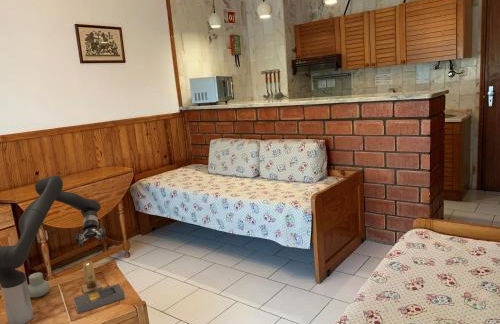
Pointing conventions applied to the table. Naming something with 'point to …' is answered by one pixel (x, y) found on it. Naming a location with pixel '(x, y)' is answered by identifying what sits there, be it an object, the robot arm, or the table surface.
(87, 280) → the peg
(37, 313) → the table surface
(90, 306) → the rack plate
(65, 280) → the table surface
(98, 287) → the pad
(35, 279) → the air freshener
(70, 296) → the table surface
